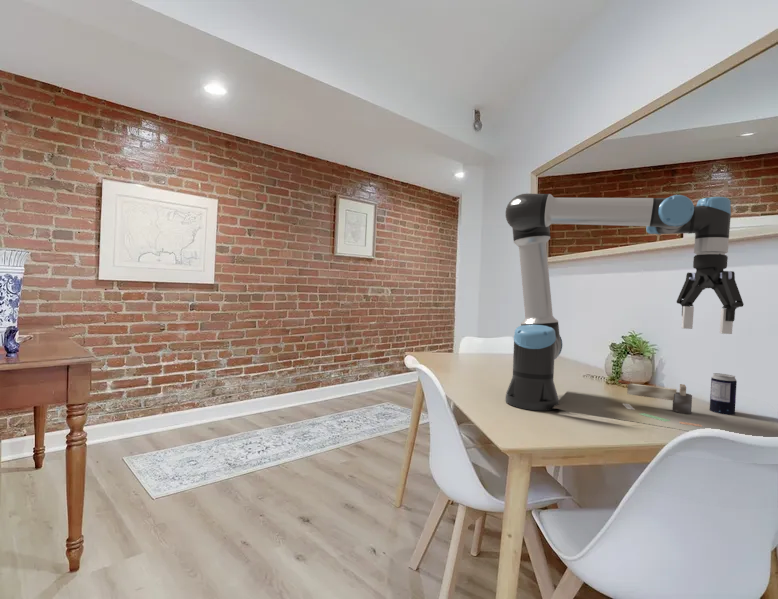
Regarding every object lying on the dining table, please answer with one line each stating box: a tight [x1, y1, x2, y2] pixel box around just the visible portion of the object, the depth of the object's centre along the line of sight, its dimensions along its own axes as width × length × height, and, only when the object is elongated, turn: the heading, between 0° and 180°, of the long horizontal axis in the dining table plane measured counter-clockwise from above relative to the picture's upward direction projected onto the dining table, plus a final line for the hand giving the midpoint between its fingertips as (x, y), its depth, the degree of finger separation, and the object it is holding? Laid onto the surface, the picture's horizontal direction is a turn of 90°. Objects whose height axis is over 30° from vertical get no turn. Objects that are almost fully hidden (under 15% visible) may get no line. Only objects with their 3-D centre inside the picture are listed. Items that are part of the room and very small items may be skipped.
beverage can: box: [709, 373, 738, 416], centre depth 121 cm, size 6×6×12 cm
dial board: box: [613, 403, 703, 432], centre depth 117 cm, size 20×18×1 cm
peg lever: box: [618, 379, 693, 415], centre depth 123 cm, size 18×4×7 cm, turn 59°
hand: (705, 331), depth 118 cm, fingers open, 13 cm apart
